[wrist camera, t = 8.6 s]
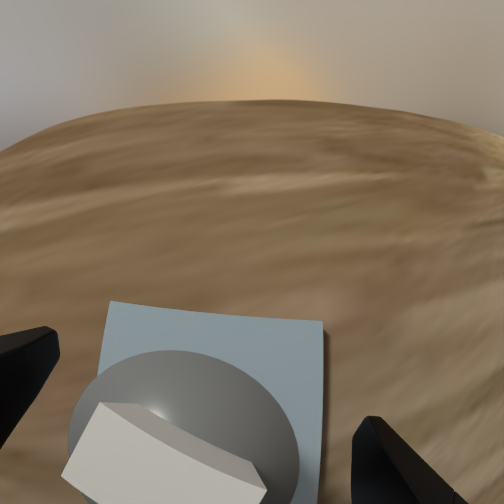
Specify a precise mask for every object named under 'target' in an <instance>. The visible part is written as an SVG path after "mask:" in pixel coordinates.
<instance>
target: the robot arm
mask: <svg viewBox="0 0 504 504" xmlns="http://www.w3.org/2000/svg"><path fill="white" fill-rule="evenodd" d="M59 357H60V348H59V340H58V334H57V332H56V331H55V330H54V329H52V328H49V327H47V326H42V327H38V328H34V329H29V330H25V331H20V332H16V333H11V334H6V335H2V336H0V449H1V448H2V446H3V445H4V443H5V441H6V440H7V438H8V437H9V435H10V434H11V433H12V431H13V430H14V428H15V427H16V425H17V424H18V422H19V421H20V419H21V418H22V417H23V415H24V414H25V412H26V411H27V410H28V408H29V407H30V405H31V404H32V403H33V401H34V400H35V398H36V397H37V395H38V394H39V392H40V391H41V389H42V387H43V385H44V384H45V382H46V380H47V378H48V377H49V375H50V373H51V372H52V370H53V368H54V367H55V365H56V363H57V362H58V360H59ZM351 498H352V504H468V503H467V502H466V501H465V500H464V499H463V498H462V497H461V496H460V495H459V494H458V493H457V492H454V489H453V488H451V487H450V486H449V485H448V484H447V483H446V482H445V481H444V480H443V479H442V478H441V477H440V476H439V475H438V474H437V473H436V472H435V471H434V470H433V469H432V468H431V467H430V466H429V465H428V464H427V463H426V462H425V461H424V460H423V459H422V458H421V457H420V456H419V455H418V454H417V453H416V452H415V451H414V450H413V449H412V448H411V447H410V446H409V445H408V444H407V443H406V442H405V441H404V440H403V439H402V438H401V437H400V436H399V435H398V434H397V433H396V432H395V431H394V430H393V429H392V428H391V427H390V426H389V425H388V424H387V423H386V422H385V421H384V420H383V419H382V418H381V417H379V416H367V417H365V418H364V420H363V421H362V423H361V424H360V426H359V427H358V429H357V430H356V432H355V433H354V436H353V439H352V464H351Z"/></svg>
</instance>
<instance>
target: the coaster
mask: <svg viewBox="0 0 504 504" xmlns="http://www.w3.org/2000/svg"><path fill="white" fill-rule="evenodd" d="M163 350H179V351H189V352H195V353H200V354H204V355H208V356H211V357H214V358H218V359H220V360H222V361H224V362H227V363H229V364H231V365H233V366H235V367H237V368H238V369H240V370H242V371H244V372H246V373H247V374H248V375H250V376H251V377H252V378H254V379H255V380H256V381H258V382H259V383H260V384H261V385H262V386H263V387H264V388H265V389H266V390H267V391H269V392H270V394H271V395H272V396H273V397H274V398H275V400H276V401H277V402H278V403H279V405H280V406H281V408H282V409H283V411H284V412H285V414H286V415H287V417H288V419H289V422H290V424H291V426H292V428H293V430H294V434H295V437H296V440H297V444H298V450H299V457H300V471H299V477H298V484H297V487H296V490H295V493H294V496H293V499H292V501H291V503H290V504H317V497H318V485H319V472H320V456H321V438H322V412H323V321H311V320H291V319H275V318H260V317H247V316H235V315H223V314H213V313H203V312H193V311H184V310H175V309H167V308H159V307H151V306H143V305H136V304H129V303H122V302H115V301H110V305H109V310H108V315H107V320H106V326H105V331H104V337H103V342H102V348H101V355H100V361H99V368H98V375H97V376H99V375H100V374H101V373H102V372H103V371H105V370H106V369H108V368H109V367H111V366H112V365H114V364H116V363H118V362H120V361H122V360H124V359H126V358H129V357H132V356H135V355H138V354H142V353H147V352H153V351H163Z"/></svg>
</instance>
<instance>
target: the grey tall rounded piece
mask: <svg viewBox="0 0 504 504" xmlns="http://www.w3.org/2000/svg"><path fill="white" fill-rule="evenodd" d="M68 452H69V458H70V459H69V461H68V463H67V465H66V467H65V469H64V471H63V473H62V475H61V476H62V477H63V478H64V479H65V480H67V481H68V482H69V483H70V484H72V485H73V486H74V487H76V488H77V489H78V490H80V491H81V492H82V494H83V495H84V497H85V499H86V500H87V502H88V503H89V504H290V503H291V501H292V499H293V496H294V493H295V490H296V487H297V484H298V477H299V471H300V457H299V450H298V444H297V440H296V437H295V434H294V430H293V428H292V426H291V424H290V422H289V419H288V417H287V415H286V414H285V412H284V411H283V409H282V408H281V406H280V405H279V403H278V402H277V401H276V400H275V398H274V397H273V396H272V395H271V394H270V392H269V391H267V390H266V389H265V388H264V387H263V386H262V385H261V384H260V383H259V382H258V381H256V380H255V379H254V378H252V377H251V376H250V375H248V374H247V373H246V372H244V371H242V370H240V369H238V368H237V367H235V366H233V365H231V364H229V363H227V362H224V361H222V360H220V359H218V358H214V357H211V356H208V355H204V354H200V353H195V352H189V351H179V350H163V351H153V352H147V353H142V354H138V355H135V356H132V357H129V358H126V359H124V360H122V361H120V362H118V363H116V364H114V365H112V366H111V367H109V368H108V369H106V370H105V371H103V372H102V373H101V374H100V375H99V376H97V377H96V378H95V379H94V380H93V381H92V382H91V384H90V385H89V386H88V387H87V388H86V389H85V391H84V392H83V394H82V395H81V397H80V399H79V400H78V402H77V405H76V407H75V409H74V411H73V415H72V418H71V422H70V426H69V434H68Z"/></svg>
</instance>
